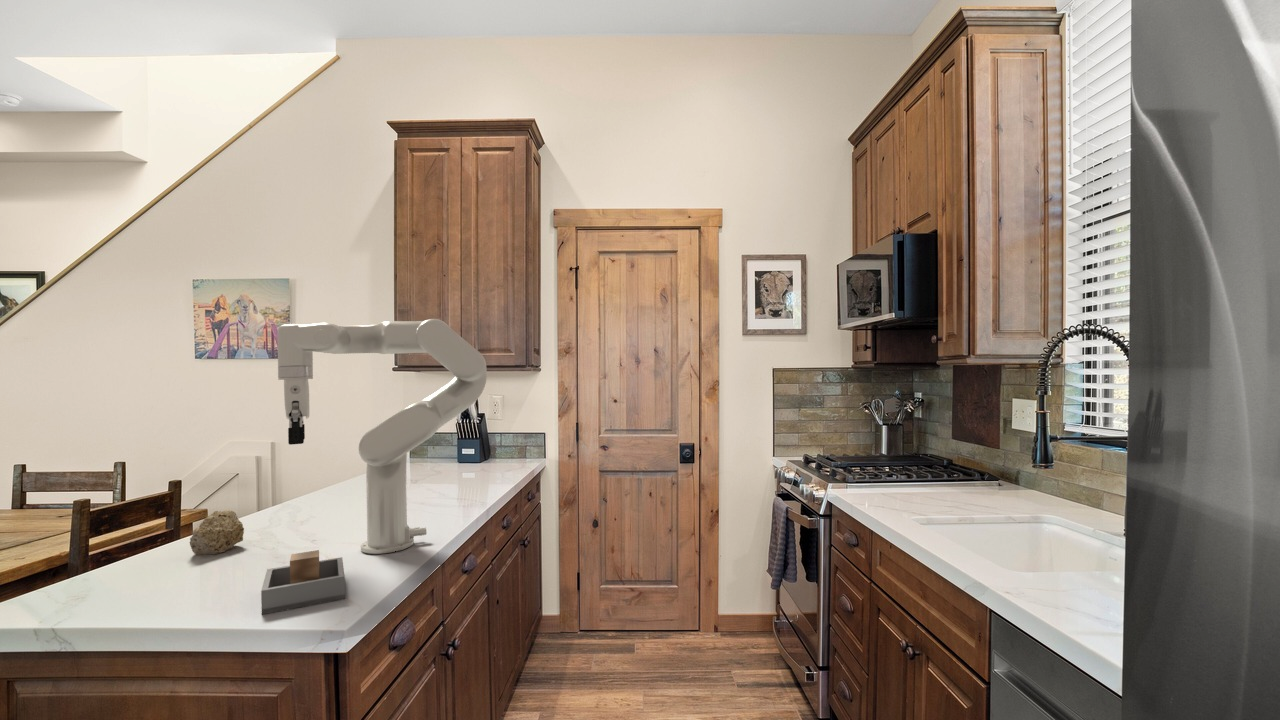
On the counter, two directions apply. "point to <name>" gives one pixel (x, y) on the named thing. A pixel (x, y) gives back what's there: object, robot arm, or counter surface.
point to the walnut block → (304, 567)
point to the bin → (302, 587)
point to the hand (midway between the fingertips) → (296, 442)
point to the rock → (217, 533)
